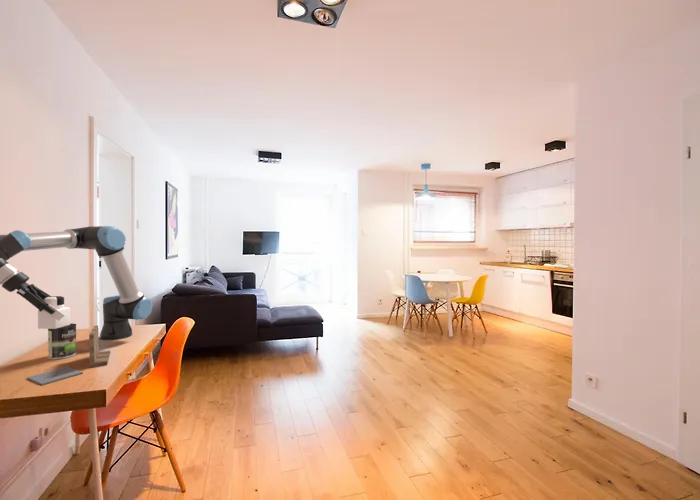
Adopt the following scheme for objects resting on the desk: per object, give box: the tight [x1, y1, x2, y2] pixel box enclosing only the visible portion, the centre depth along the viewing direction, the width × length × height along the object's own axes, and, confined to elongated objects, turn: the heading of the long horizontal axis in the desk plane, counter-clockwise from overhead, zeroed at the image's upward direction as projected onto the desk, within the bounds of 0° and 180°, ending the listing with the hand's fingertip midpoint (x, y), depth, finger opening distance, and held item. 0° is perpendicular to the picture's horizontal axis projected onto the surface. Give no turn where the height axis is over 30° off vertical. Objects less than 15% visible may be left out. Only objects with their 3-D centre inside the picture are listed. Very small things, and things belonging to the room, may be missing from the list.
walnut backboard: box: [88, 325, 111, 368], centre depth 155 cm, size 18×6×14 cm, turn 31°
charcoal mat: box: [26, 366, 84, 386], centre depth 137 cm, size 13×13×1 cm
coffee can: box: [47, 322, 78, 360], centre depth 161 cm, size 10×10×14 cm
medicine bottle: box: [37, 295, 71, 330], centre depth 137 cm, size 7×7×12 cm
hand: (64, 315), depth 139 cm, fingers closed on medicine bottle, 10 cm apart
